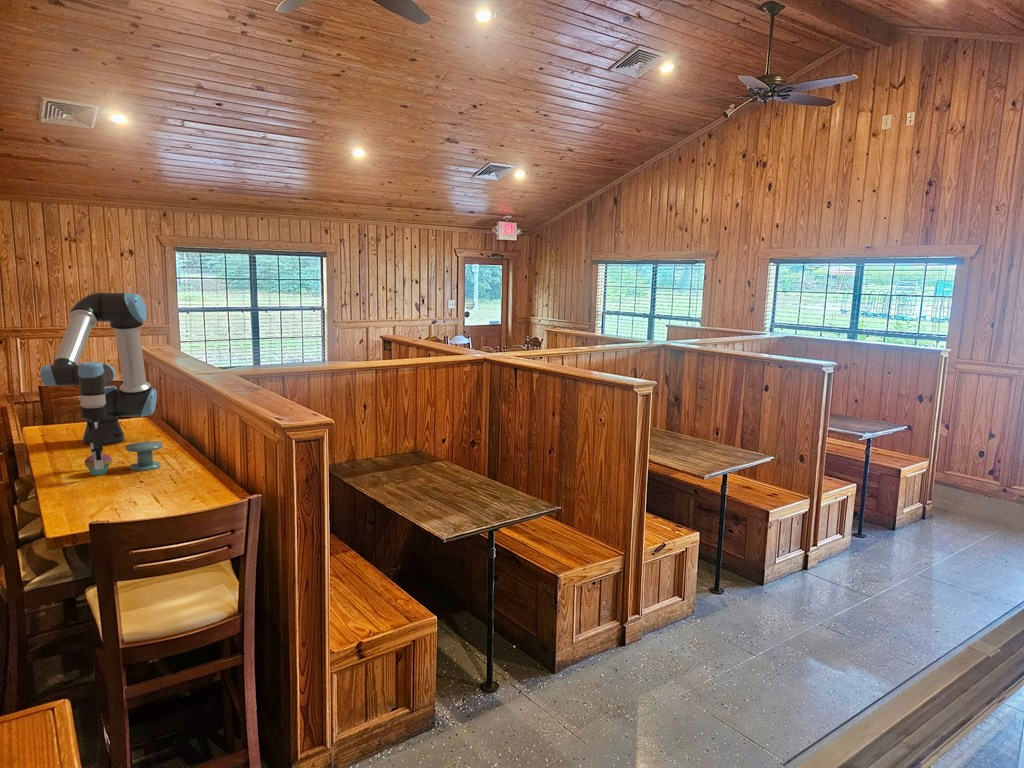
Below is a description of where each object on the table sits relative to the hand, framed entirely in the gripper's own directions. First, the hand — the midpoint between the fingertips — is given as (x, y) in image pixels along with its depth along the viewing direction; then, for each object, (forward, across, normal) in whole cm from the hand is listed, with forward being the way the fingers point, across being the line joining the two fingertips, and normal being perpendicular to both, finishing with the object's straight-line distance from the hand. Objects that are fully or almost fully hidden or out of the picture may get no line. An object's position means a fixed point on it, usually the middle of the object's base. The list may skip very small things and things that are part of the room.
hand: (97, 464), depth 233 cm
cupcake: (+4, 0, 0) cm, 4 cm away
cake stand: (+3, 0, +15) cm, 15 cm away
